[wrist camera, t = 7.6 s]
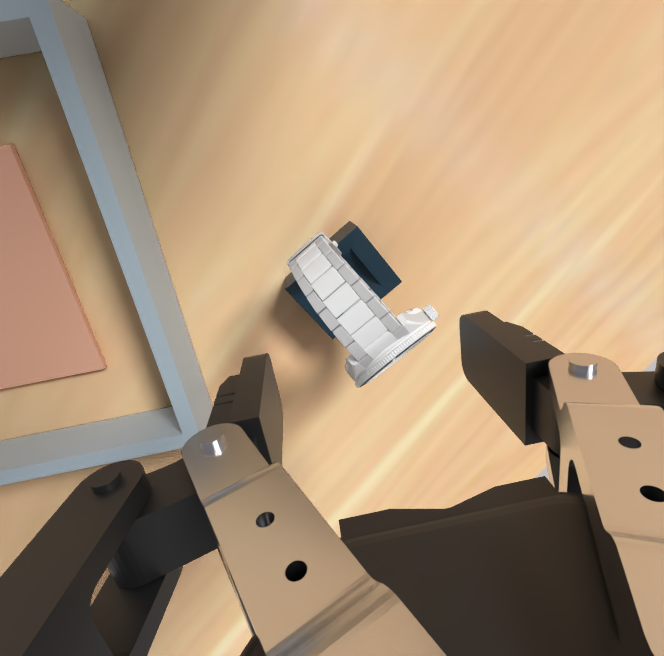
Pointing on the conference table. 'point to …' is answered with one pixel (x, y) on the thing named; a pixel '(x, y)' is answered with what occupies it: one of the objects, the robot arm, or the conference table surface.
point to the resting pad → (36, 292)
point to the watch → (355, 301)
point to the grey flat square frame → (131, 249)
